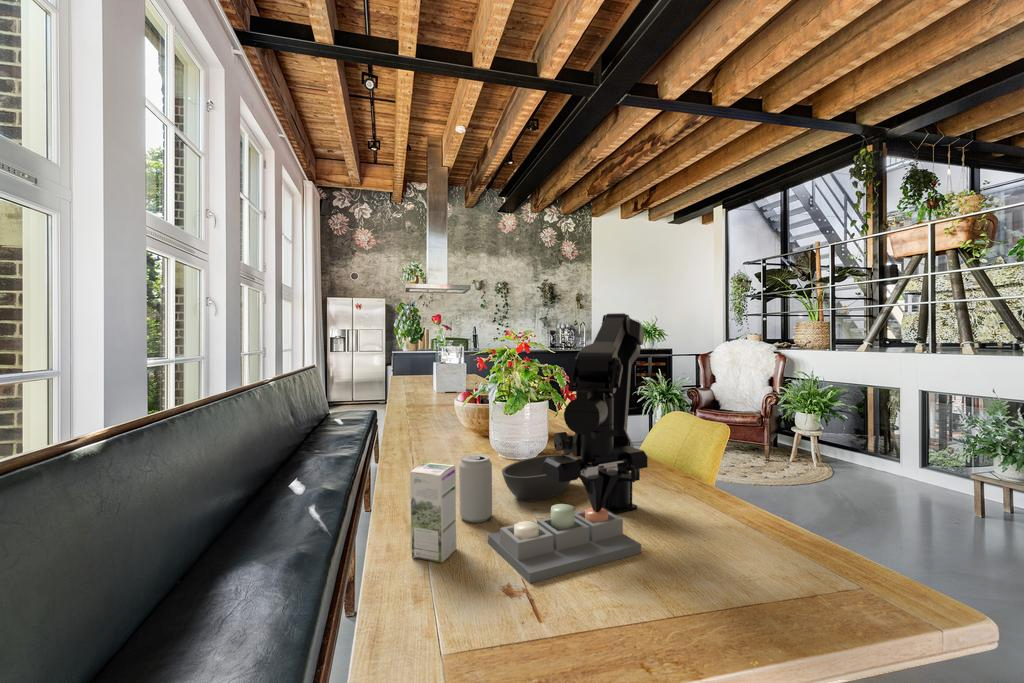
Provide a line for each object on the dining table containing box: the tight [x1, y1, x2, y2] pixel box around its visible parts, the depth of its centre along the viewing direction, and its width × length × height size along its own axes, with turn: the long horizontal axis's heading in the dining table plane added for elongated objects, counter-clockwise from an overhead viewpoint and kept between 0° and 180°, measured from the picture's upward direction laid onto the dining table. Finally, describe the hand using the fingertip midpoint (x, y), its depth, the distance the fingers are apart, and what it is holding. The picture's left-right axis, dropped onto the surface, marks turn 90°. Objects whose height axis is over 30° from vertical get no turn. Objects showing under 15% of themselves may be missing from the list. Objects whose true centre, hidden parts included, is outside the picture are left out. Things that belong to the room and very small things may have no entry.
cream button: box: [513, 520, 539, 540], centre depth 80 cm, size 4×4×3 cm
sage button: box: [550, 503, 576, 531], centre depth 83 cm, size 4×4×3 cm
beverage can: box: [458, 453, 493, 523], centre depth 97 cm, size 6×6×12 cm
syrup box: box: [409, 462, 457, 563], centre depth 82 cm, size 6×6×14 cm
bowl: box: [501, 454, 579, 502], centre depth 112 cm, size 12×22×6 cm, turn 135°
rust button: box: [585, 506, 609, 524], centre depth 87 cm, size 4×4×3 cm
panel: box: [487, 509, 642, 584], centre depth 84 cm, size 21×15×4 cm
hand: (596, 511), depth 87 cm, fingers closed
